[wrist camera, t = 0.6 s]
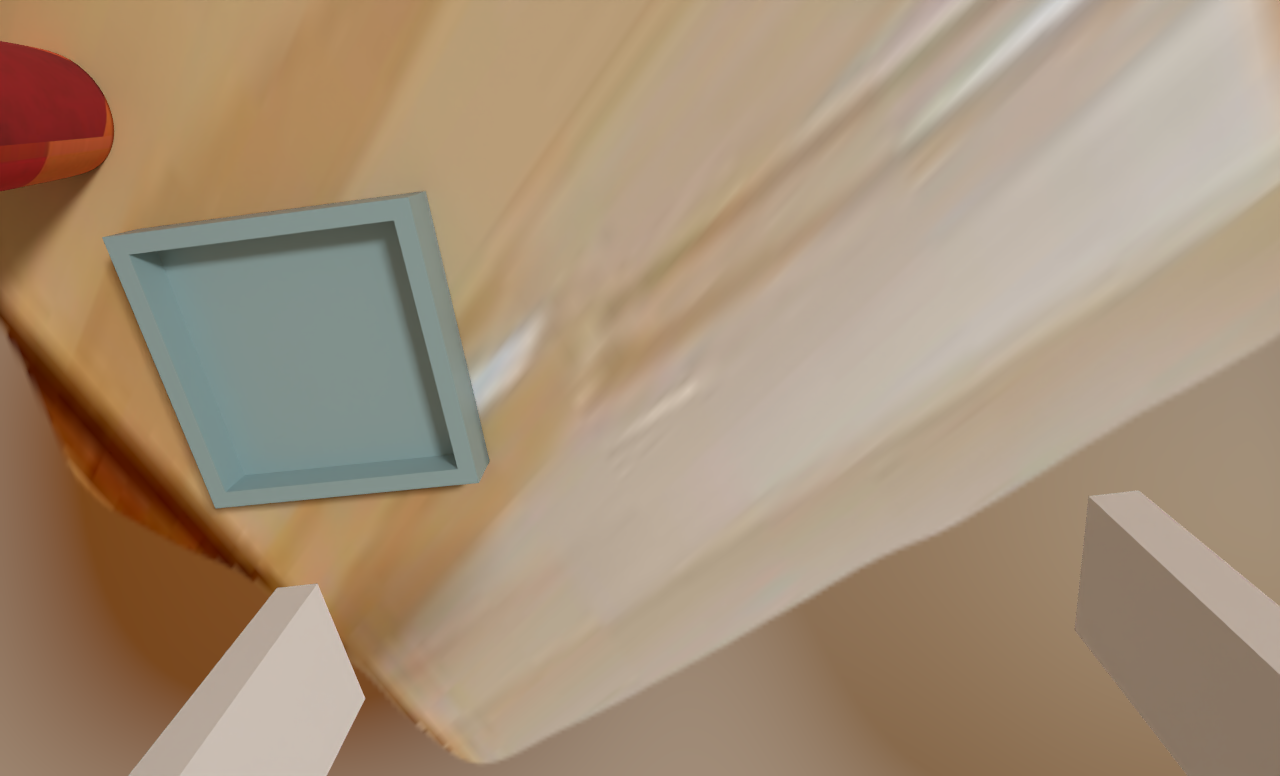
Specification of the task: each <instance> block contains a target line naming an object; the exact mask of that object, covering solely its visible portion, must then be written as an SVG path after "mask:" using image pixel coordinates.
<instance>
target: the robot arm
mask: <svg viewBox="0 0 1280 776" xmlns="http://www.w3.org/2000/svg"><path fill="white" fill-rule="evenodd" d="M1083 546H1084V547H1083V555H1082V565H1081V574H1080V585H1079V593H1078V603H1077V612H1076V621H1075V631H1076V632H1077V634H1078V635H1079V636H1080V638H1081V639H1082V640H1083V641H1084V643H1085V644H1086V645H1087V647H1088V648H1089V649H1090V650H1091V652H1092V653H1093V654H1094V656H1095V657H1096V658H1097V659H1098V661H1099V662H1100V663H1101V665H1102V666H1103V667H1104V669H1105V670H1106V671H1107V672H1108V674H1109V675H1110V676H1111V678H1112V679H1113V680H1114V681H1115V683H1116V684H1117V685H1118V687H1119V688H1120V689H1121V690H1122V692H1123V693H1124V694H1125V696H1126V697H1127V698H1128V700H1129V701H1130V702H1131V703H1132V705H1133V706H1134V707H1135V709H1136V710H1137V711H1138V712H1139V714H1140V715H1141V716H1142V718H1143V719H1144V720H1145V721H1146V723H1147V724H1148V725H1149V727H1150V728H1151V729H1152V730H1153V732H1154V733H1155V734H1156V736H1157V737H1158V738H1159V740H1160V741H1161V742H1162V743H1163V745H1164V746H1165V747H1166V749H1167V750H1168V751H1169V752H1170V754H1171V755H1172V756H1173V758H1174V759H1175V760H1176V761H1177V762H1178V764H1179V765H1180V767H1181V768H1182V769H1183V771H1184V772H1185V773H1186V774H1187V776H1280V606H1279V605H1277V604H1276V603H1275V602H1274V601H1272V600H1271V599H1270V598H1269V597H1268V596H1266V595H1265V594H1264V593H1263V592H1261V591H1260V590H1259V589H1258V588H1257V587H1255V586H1254V585H1253V584H1252V583H1251V582H1249V581H1248V580H1247V579H1246V578H1244V577H1243V576H1242V575H1241V574H1240V573H1238V572H1237V571H1236V570H1235V569H1233V568H1232V567H1231V566H1230V565H1229V564H1227V563H1226V562H1225V561H1224V560H1223V559H1221V558H1220V557H1219V556H1218V555H1216V554H1215V553H1214V552H1213V551H1212V550H1210V549H1209V548H1208V547H1207V546H1206V545H1204V544H1203V543H1202V542H1201V541H1199V540H1198V539H1197V538H1196V537H1195V536H1193V535H1192V534H1191V533H1190V532H1189V531H1187V530H1186V529H1185V528H1184V527H1182V526H1181V525H1180V524H1179V523H1178V522H1176V521H1175V520H1174V519H1173V518H1172V517H1170V516H1169V515H1168V514H1167V513H1165V512H1164V511H1163V510H1162V509H1161V508H1159V507H1158V506H1157V505H1156V504H1155V503H1153V502H1152V501H1151V500H1150V499H1148V498H1147V497H1146V496H1145V495H1143V494H1142V493H1141V492H1140V491H1131V492H1122V493H1114V494H1105V495H1096V496H1089V499H1088V507H1087V517H1086V527H1085V536H1084V545H1083ZM364 700H365V697H364V695H363V692H362V690H361V687H360V685H359V682H358V680H357V678H356V676H355V673H354V670H353V668H352V666H351V663H350V661H349V658H348V656H347V654H346V651H345V649H344V646H343V644H342V642H341V639H340V637H339V634H338V632H337V630H336V627H335V625H334V622H333V620H332V617H331V615H330V613H329V610H328V608H327V605H326V603H325V601H324V598H323V596H322V593H321V591H320V589H319V586H318V584H309V585H300V586H291V587H283V588H277V589H276V590H275V591H274V593H273V594H272V595H271V596H270V598H269V599H268V600H267V601H266V603H265V604H264V605H263V606H262V608H261V609H260V610H259V612H258V613H257V614H256V615H255V616H254V618H253V619H252V620H251V622H250V623H249V624H248V625H247V627H246V628H245V629H244V630H243V632H242V633H241V634H240V635H239V637H238V638H237V639H236V640H235V642H234V643H233V644H232V646H231V647H230V648H229V649H228V651H227V652H226V653H225V654H224V656H223V657H222V658H221V659H220V661H219V662H218V663H217V664H216V666H215V667H214V668H213V670H212V671H211V672H210V673H209V674H208V676H207V677H206V678H205V680H204V681H203V682H202V683H201V685H200V686H199V687H198V688H197V690H196V691H195V692H194V693H193V695H192V696H191V697H190V698H189V700H188V701H187V702H186V703H185V705H184V706H183V707H182V708H181V710H180V711H179V712H178V714H177V715H176V716H175V717H174V719H173V720H172V721H171V722H170V724H169V725H168V726H167V727H166V729H165V730H164V731H163V733H162V734H161V735H160V736H159V738H158V739H157V740H156V741H155V742H154V744H153V745H152V746H151V748H150V749H149V750H148V751H147V753H146V754H145V755H144V756H143V758H142V759H141V760H140V761H139V763H138V764H137V765H136V767H135V768H134V769H133V770H132V771H131V773H130V774H129V776H327V774H328V772H329V769H330V768H331V766H332V764H333V762H334V760H335V757H336V756H337V754H338V752H339V750H340V748H341V746H342V744H343V742H344V740H345V738H346V736H347V734H348V732H349V730H350V728H351V726H352V724H353V722H354V720H355V718H356V716H357V713H358V712H359V710H360V708H361V706H362V704H363V702H364Z"/></svg>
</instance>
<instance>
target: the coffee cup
mask: <svg viewBox="0 0 1280 776" xmlns="http://www.w3.org/2000/svg"><path fill="white" fill-rule="evenodd" d="M113 138H114V124H113V118H112V114H111V111H110V108H109V105H108V103H107V100H106V98H105V96H104V95H103V93H102V91H101V90H100V88H99V87H98V85H97V84H96V83H95V81H94V80H93V79H92V78H91V77H90V76H89V75H88V74H87V73H86V72H85V71H84V70H83V69H82V68H81V67H79V66H78V65H77V64H75V63H74V62H72V61H71V60H69V59H67V58H65V57H63V56H61V55H59V54H56V53H53V52H50V51H47V50H43V49H38V48H34V47H29V46H24V45H18V44H13V43H8V42H2V41H0V191H5V190H10V189H15V188H20V187H25V186H29V185H34V184H39V183H44V182H49V181H54V180H58V179H63V178H67V177H72V176H75V175H79V174H83V173H86V172H88V171H91V170H93V169H95V168H96V167H98V166H99V165H100V164H101V163H102V162H103V161H104V160H105V159H106V157H107V156H108V154H109V152H110V150H111V147H112V144H113Z"/></svg>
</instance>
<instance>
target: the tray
mask: <svg viewBox="0 0 1280 776" xmlns="http://www.w3.org/2000/svg"><path fill="white" fill-rule="evenodd" d="M102 238H103V240H104V243H105V245H106V248H107V250H108V252H109V255H110V257H111V260H112V262H113V264H114V267H115V269H116V272H117V274H118V276H119V279H120V281H121V284H122V286H123V288H124V291H125V293H126V296H127V298H128V300H129V303H130V305H131V307H132V310H133V312H134V315H135V317H136V319H137V322H138V324H139V327H140V329H141V331H142V334H143V336H144V339H145V341H146V343H147V346H148V348H149V351H150V353H151V355H152V358H153V360H154V363H155V365H156V367H157V370H158V372H159V375H160V377H161V379H162V382H163V384H164V386H165V389H166V391H167V394H168V396H169V398H170V401H171V403H172V406H173V408H174V410H175V413H176V415H177V418H178V420H179V422H180V425H181V427H182V430H183V432H184V434H185V437H186V439H187V442H188V444H189V446H190V449H191V451H192V453H193V456H194V458H195V461H196V463H197V465H198V468H199V470H200V473H201V475H202V477H203V480H204V482H205V485H206V487H207V489H208V492H209V494H210V497H211V499H212V501H213V504H214V506H215V508H225V507H235V506H246V505H256V504H266V503H277V502H287V501H297V500H307V499H318V498H328V497H338V496H348V495H359V494H369V493H379V492H390V491H400V490H410V489H420V488H431V487H441V486H451V485H461V484H472V483H479V481H480V479H481V477H482V475H483V473H484V471H485V469H486V467H487V465H488V463H489V457H488V453H487V448H486V444H485V440H484V436H483V432H482V427H481V423H480V419H479V415H478V410H477V406H476V402H475V398H474V394H473V389H472V385H471V381H470V377H469V372H468V368H467V364H466V360H465V356H464V351H463V347H462V343H461V339H460V334H459V330H458V326H457V322H456V318H455V313H454V309H453V305H452V301H451V296H450V292H449V288H448V284H447V280H446V275H445V271H444V267H443V263H442V258H441V254H440V250H439V246H438V242H437V237H436V233H435V229H434V225H433V221H432V216H431V212H430V208H429V204H428V199H427V195H426V191H422V192H415V193H407V194H400V195H392V196H385V197H377V198H369V199H362V200H354V201H347V202H339V203H332V204H324V205H316V206H309V207H301V208H294V209H286V210H279V211H271V212H264V213H256V214H248V215H241V216H233V217H226V218H218V219H211V220H203V221H195V222H188V223H180V224H173V225H165V226H158V227H150V228H142V229H137V230H132V231H128V232H124V233H119V234H115V235H111V236H106V237H102Z"/></svg>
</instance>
